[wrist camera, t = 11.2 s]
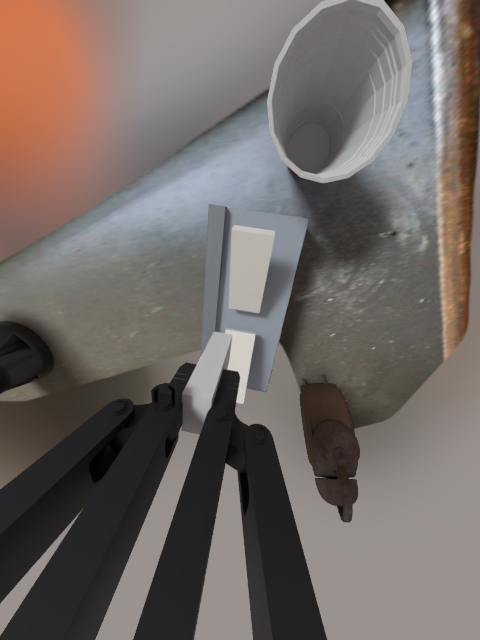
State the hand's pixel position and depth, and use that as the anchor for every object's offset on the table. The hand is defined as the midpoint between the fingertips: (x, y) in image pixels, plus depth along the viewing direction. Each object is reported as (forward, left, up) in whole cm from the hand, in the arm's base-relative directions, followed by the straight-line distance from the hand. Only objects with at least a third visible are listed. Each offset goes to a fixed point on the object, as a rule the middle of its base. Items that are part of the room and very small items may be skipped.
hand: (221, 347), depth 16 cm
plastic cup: (+6, +19, -21) cm, 28 cm away
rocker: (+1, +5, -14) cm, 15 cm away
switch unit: (+1, -3, -20) cm, 21 cm away
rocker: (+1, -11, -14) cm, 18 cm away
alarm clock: (+18, -20, -21) cm, 34 cm away
